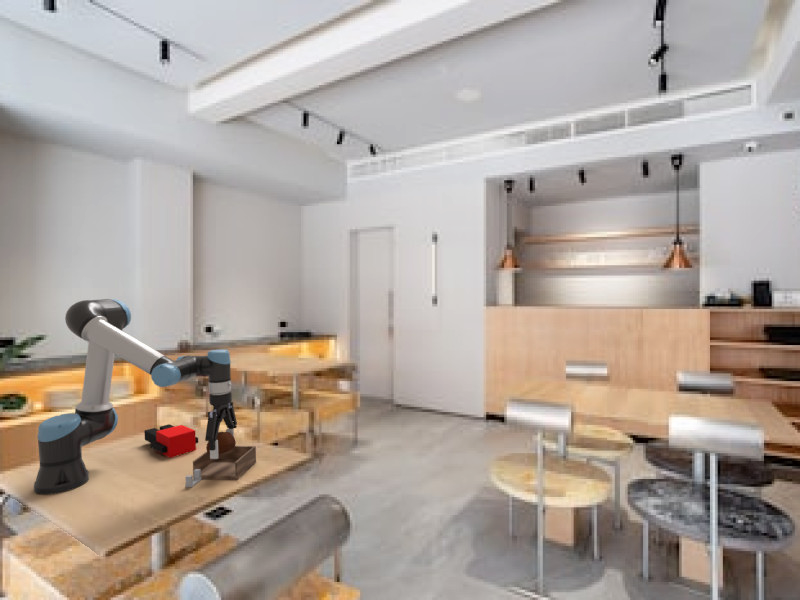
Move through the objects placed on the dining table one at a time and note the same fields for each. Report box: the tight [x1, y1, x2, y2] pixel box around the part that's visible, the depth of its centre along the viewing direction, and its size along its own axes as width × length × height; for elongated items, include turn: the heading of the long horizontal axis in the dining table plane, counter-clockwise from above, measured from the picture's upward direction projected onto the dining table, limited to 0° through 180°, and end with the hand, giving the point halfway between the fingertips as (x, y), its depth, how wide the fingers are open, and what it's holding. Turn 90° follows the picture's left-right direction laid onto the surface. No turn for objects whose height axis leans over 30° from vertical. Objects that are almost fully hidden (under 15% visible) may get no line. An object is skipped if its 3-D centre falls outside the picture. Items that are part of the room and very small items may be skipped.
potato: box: [206, 431, 237, 454], centre depth 159 cm, size 8×12×8 cm, turn 156°
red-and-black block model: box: [143, 423, 199, 459], centre depth 186 cm, size 15×8×25 cm
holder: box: [192, 445, 257, 481], centre depth 162 cm, size 16×15×6 cm
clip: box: [184, 469, 202, 488], centre depth 151 cm, size 2×6×4 cm, turn 174°
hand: (222, 452), depth 159 cm, fingers closed on potato, 11 cm apart
